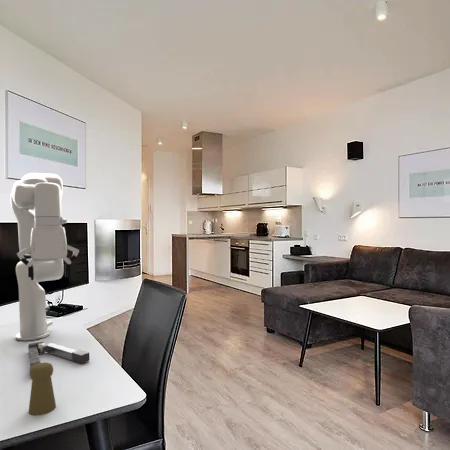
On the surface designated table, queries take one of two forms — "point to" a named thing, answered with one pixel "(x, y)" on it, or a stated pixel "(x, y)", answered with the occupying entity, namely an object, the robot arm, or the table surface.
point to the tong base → (34, 353)
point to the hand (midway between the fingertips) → (49, 278)
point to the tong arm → (64, 352)
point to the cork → (41, 389)
